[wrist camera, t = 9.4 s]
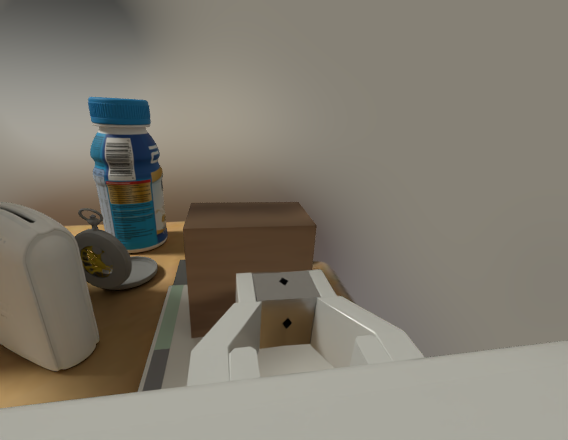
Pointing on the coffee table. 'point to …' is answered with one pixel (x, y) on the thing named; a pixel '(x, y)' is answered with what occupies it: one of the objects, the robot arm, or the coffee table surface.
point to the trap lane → (178, 343)
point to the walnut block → (240, 251)
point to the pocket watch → (110, 259)
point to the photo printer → (43, 291)
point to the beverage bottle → (128, 173)
